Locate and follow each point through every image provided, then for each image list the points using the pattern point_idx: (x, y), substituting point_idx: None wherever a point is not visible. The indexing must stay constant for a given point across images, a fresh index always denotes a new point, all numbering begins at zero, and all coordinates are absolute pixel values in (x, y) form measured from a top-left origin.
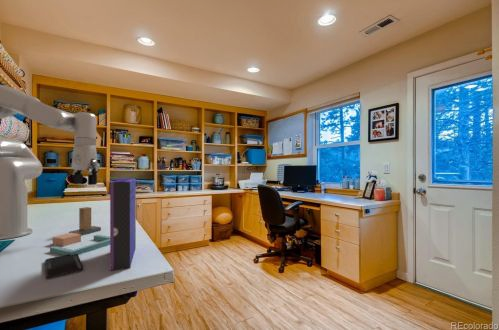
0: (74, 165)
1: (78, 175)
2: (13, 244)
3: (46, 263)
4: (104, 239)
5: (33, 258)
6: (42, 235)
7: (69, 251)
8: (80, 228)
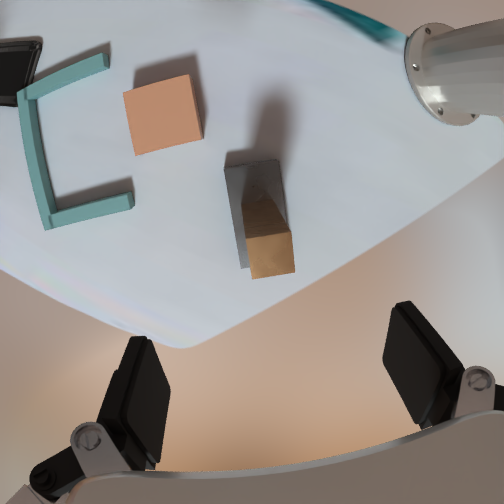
0: (462, 490)
1: (425, 392)
2: (318, 15)
3: (17, 44)
4: (79, 205)
5: (92, 19)
6: (366, 110)
7: (24, 90)
8: (265, 202)
